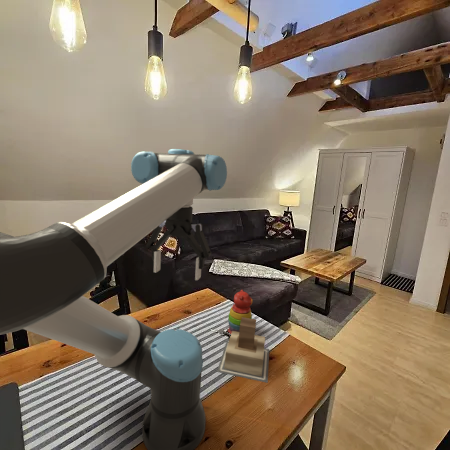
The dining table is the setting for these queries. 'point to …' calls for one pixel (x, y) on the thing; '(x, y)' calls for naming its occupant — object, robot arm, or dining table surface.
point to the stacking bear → (239, 310)
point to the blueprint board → (245, 375)
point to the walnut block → (247, 333)
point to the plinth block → (245, 355)
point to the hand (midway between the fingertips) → (177, 274)
